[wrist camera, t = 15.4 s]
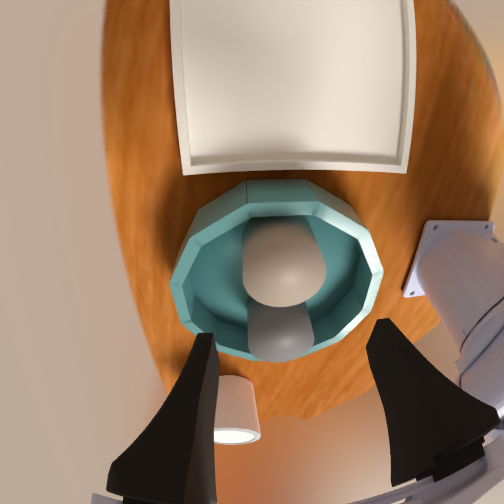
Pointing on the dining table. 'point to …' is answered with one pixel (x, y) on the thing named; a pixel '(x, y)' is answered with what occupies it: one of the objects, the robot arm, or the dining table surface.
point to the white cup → (236, 412)
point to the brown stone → (281, 260)
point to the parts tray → (293, 84)
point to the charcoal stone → (278, 331)
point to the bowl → (231, 263)
